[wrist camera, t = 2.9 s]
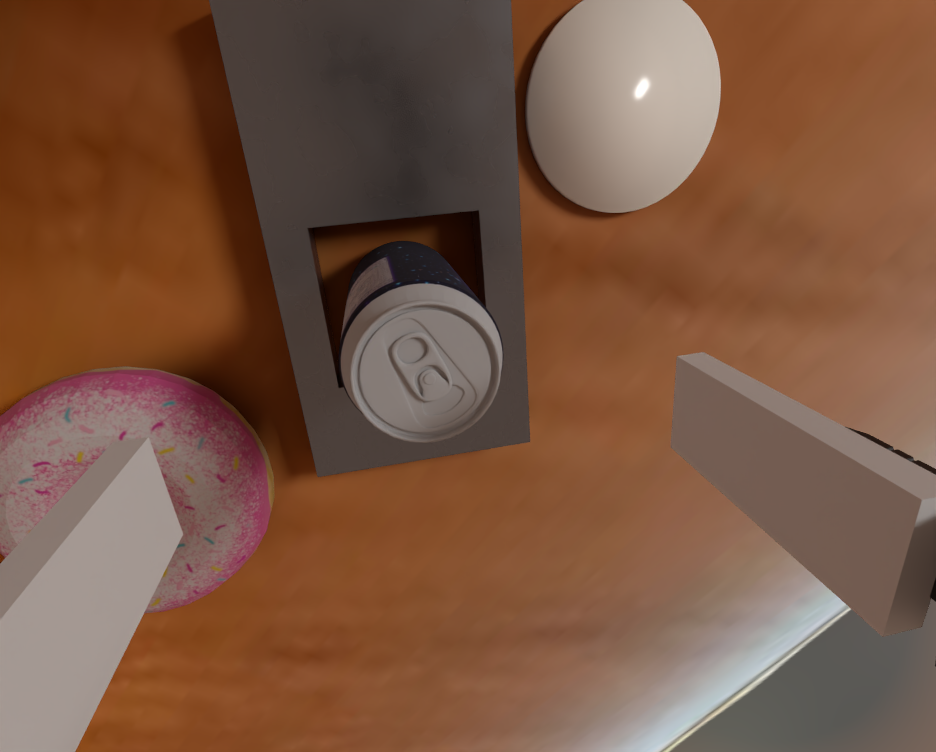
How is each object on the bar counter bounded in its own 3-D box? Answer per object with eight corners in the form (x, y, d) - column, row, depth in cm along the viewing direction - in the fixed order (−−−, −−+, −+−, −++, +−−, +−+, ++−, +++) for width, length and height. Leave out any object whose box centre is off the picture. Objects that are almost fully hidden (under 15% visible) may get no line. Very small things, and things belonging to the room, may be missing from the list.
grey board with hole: (220, 7, 22) (207, -7, 20) (498, -6, 24) (509, -21, 22) (320, 458, 30) (317, 477, 29) (520, 426, 32) (530, 441, 30)
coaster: (520, -7, 24) (524, -12, 23) (723, -17, 25) (730, -22, 24) (528, 221, 28) (532, 222, 27) (704, 202, 29) (711, 203, 28)
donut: (143, 299, 26) (95, 328, 21) (332, 470, 31) (326, 522, 27) (-47, 462, 27) (-131, 523, 23) (166, 600, 32) (132, 671, 28)
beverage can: (384, 362, 29) (395, 481, 18) (327, 272, 27) (299, 346, 16) (474, 312, 29) (540, 401, 18) (424, 218, 27) (464, 253, 16)
